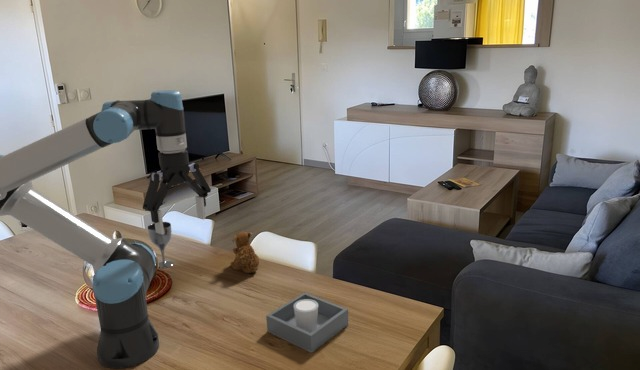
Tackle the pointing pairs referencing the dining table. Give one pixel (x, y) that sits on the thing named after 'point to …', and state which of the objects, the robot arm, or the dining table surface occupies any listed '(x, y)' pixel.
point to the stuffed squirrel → (244, 254)
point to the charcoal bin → (285, 327)
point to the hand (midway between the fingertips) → (181, 225)
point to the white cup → (306, 314)
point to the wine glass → (161, 241)
